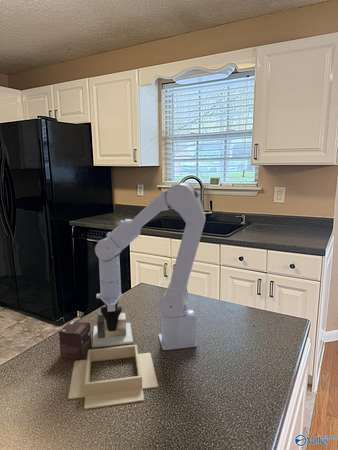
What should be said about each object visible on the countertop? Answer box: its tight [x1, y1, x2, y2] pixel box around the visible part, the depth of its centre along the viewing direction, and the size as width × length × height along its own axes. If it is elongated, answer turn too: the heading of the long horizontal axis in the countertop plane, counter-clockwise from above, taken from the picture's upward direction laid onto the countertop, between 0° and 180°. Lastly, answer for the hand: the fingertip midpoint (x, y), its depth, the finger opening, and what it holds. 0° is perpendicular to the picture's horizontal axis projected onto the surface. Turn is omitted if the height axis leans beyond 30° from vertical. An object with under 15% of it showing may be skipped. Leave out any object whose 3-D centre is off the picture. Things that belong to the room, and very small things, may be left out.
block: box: [96, 312, 127, 338], centre depth 92 cm, size 8×4×5 cm, turn 101°
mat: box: [91, 321, 134, 349], centre depth 92 cm, size 11×11×1 cm
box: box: [58, 320, 92, 361], centre depth 83 cm, size 6×6×7 cm
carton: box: [67, 344, 159, 410], centre depth 75 cm, size 19×20×3 cm
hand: (112, 323), depth 92 cm, fingers open, 7 cm apart
